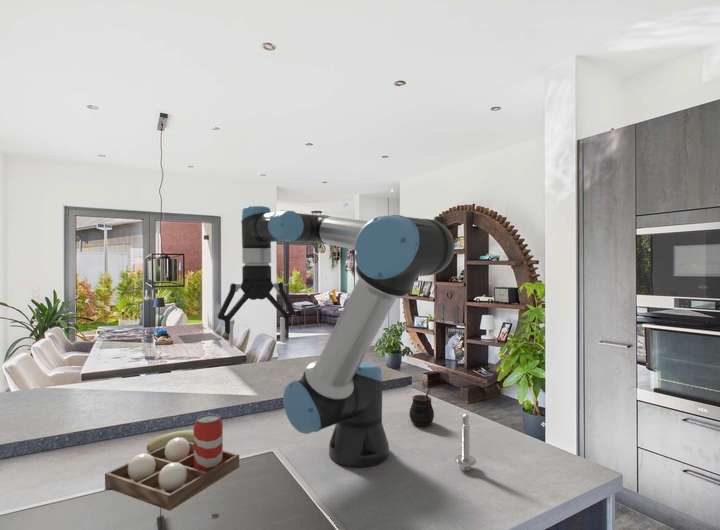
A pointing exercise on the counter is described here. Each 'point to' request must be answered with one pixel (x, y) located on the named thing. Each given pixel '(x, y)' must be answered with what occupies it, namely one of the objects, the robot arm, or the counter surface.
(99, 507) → the counter surface
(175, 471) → the egg
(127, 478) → the crate
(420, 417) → the mate gourd
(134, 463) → the egg
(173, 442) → the egg
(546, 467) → the counter surface
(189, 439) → the fruit
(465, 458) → the screw
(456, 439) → the counter surface
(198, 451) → the beverage can
